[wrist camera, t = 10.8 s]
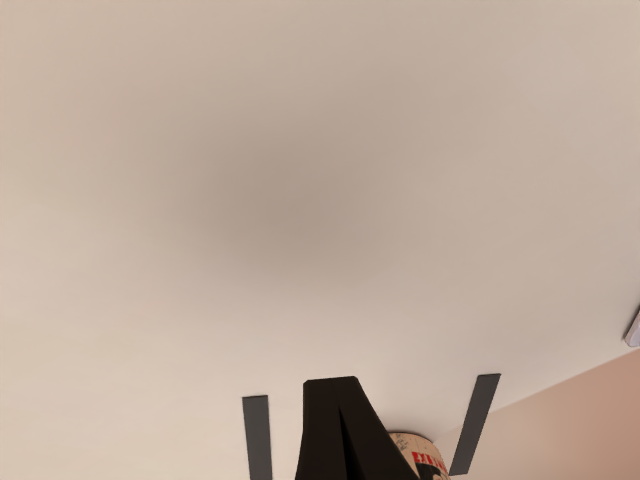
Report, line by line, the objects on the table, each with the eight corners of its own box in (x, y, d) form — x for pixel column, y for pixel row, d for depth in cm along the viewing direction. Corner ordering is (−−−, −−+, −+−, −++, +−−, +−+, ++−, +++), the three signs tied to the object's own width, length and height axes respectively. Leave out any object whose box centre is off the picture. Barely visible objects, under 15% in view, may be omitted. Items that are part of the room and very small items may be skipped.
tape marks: (500, 373, 28) (500, 374, 28) (466, 472, 34) (467, 473, 34) (242, 397, 26) (242, 399, 26) (252, 499, 32) (252, 500, 32)
